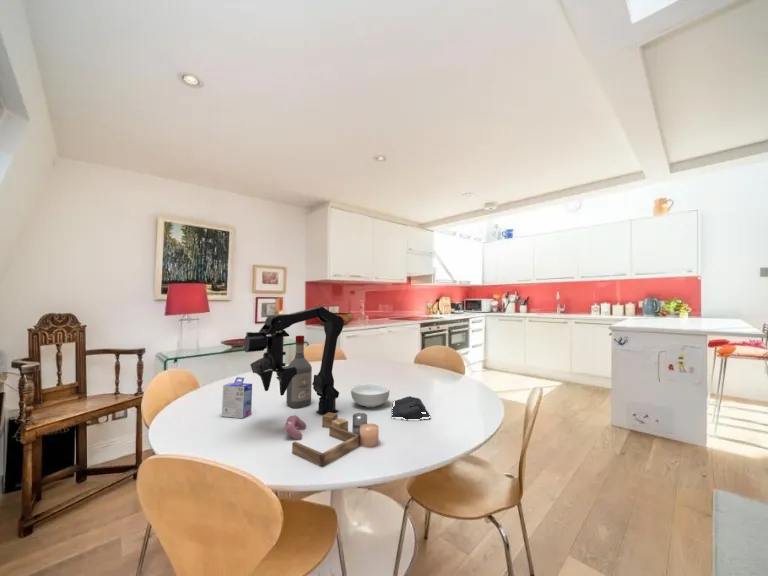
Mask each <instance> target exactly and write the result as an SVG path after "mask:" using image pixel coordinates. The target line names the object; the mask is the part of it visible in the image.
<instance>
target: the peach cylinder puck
mask: <svg viewBox="0 0 768 576" xmlns="http://www.w3.org/2000/svg"><path fill="white" fill-rule="evenodd" d="M379 427H380V426H379V425H377V424H375V423H367V424H363V425H361V426H360V435H361V443H360V446H361V447H363V448H375V447H377V446H378V445H379V444H378V443H379V437H380V436H379V433H380V431H379V430H380V429H379Z"/></svg>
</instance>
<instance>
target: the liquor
mask: <svg viewBox="0 0 768 576" xmlns="http://www.w3.org/2000/svg"><path fill="white" fill-rule="evenodd" d="M304 345H305V335H295V355H294V358H293V360H291V362H290V363H288V365H287V366H293V367H296V368H297V375H295V377H293V378H292V380H291V381H290V383H289V385H288V387H287V389H286V405H287V407H290V408H291V409H300V408H305V407H309V406H310V405H311V403H312V383H313V382H312V381H313V380H312V376H313V374H312V373H313V372H312V371H313V370H312V369H313V367H312V365H311V363H310V362H309V361H308V360H307V359H306V358H305V349H304V348H305V346H304Z"/></svg>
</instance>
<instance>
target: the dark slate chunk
mask: <svg viewBox="0 0 768 576" xmlns="http://www.w3.org/2000/svg"><path fill="white" fill-rule="evenodd" d="M394 401H395V406H394V407H393V409H392V408H391V418H392V417H403V418H405V419H420V418H422V417H429V416H430V417H431V414H430V413H429V412H428V410H427V409H425V408H426V406H425V405H424V403H423V401H422V399H421V398H419V397H415V396H410V395H408V396H406V397H402V398H401V399H400V398H399V399H396V400H394ZM392 410H393V411H392ZM392 412H393V413H392ZM421 412H426V414H422V413H421ZM392 414H393V415H392ZM429 414H430V415H429Z"/></svg>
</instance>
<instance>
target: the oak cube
mask: <svg viewBox="0 0 768 576" xmlns="http://www.w3.org/2000/svg"><path fill="white" fill-rule="evenodd" d="M332 426H334V427H337V428H340V429H343V430H346V431H349V420H347V419H344V418H342V417H340V418H339V417H338V419H336V420H333V421H332Z"/></svg>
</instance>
